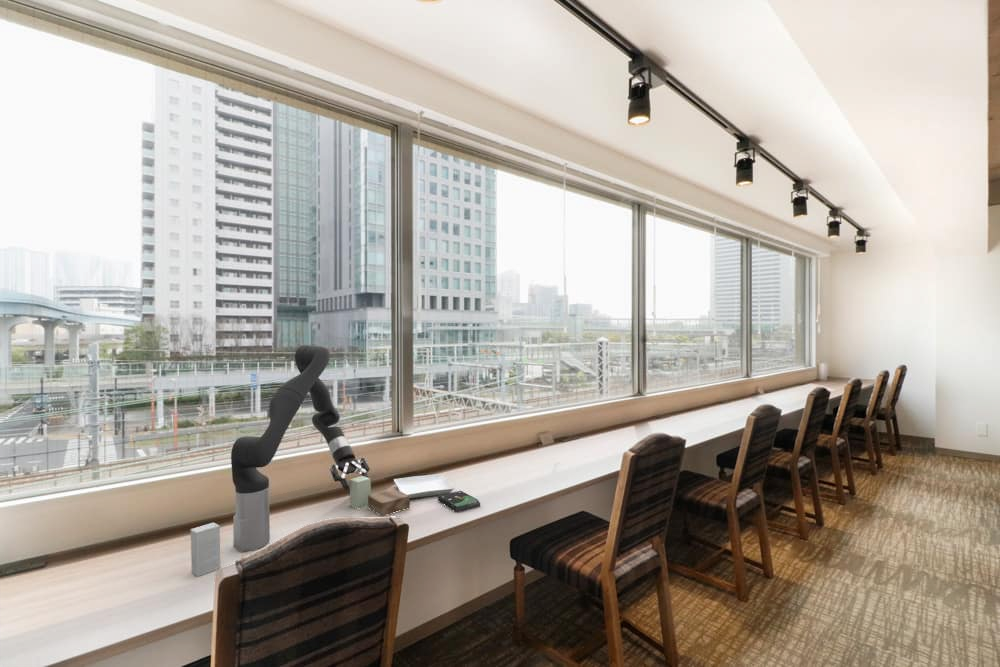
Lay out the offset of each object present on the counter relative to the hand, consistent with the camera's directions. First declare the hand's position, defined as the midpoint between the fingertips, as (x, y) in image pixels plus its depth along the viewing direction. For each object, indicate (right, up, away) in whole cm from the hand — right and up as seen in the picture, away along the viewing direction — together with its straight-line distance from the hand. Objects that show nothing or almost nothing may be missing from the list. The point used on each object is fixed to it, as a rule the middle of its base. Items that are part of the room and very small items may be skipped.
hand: (357, 485), depth 179 cm
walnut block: (+13, -7, -5) cm, 16 cm away
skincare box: (-27, -8, -50) cm, 57 cm away
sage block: (+1, -7, -1) cm, 7 cm away
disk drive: (+39, -7, -1) cm, 39 cm away
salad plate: (+22, -7, +15) cm, 28 cm away
